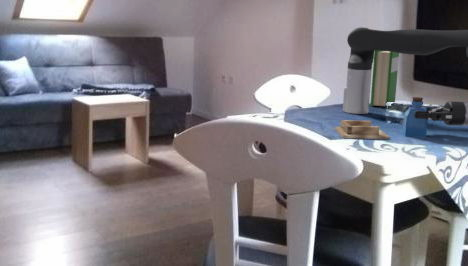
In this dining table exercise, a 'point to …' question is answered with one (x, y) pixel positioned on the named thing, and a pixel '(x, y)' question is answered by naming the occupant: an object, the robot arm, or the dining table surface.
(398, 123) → the dining table surface
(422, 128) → the perfume bottle
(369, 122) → the u cradle
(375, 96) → the hardback book
